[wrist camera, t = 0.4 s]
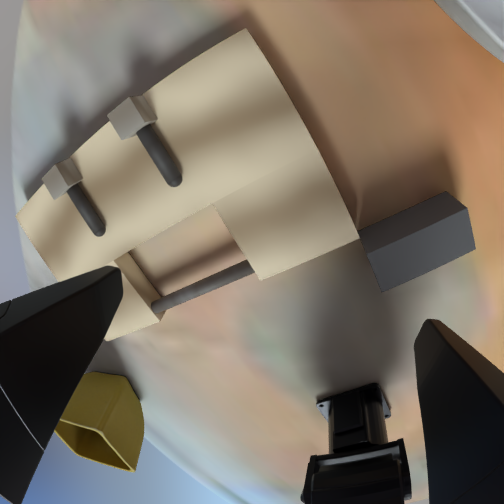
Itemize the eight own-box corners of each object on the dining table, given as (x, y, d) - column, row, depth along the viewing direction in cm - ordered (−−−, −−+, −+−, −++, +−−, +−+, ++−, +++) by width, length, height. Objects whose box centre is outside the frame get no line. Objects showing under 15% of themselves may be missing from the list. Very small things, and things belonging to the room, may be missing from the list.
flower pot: (73, 356, 32) (35, 411, 24) (133, 363, 31) (98, 431, 23) (103, 403, 36) (76, 455, 28) (160, 413, 34) (136, 474, 27)
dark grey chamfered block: (454, 227, 20) (475, 248, 17) (371, 265, 22) (381, 292, 19) (444, 190, 19) (466, 207, 16) (357, 230, 21) (366, 254, 18)
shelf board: (354, 225, 21) (365, 251, 18) (115, 328, 28) (98, 354, 25) (250, 34, 16) (240, 20, 13) (29, 207, 24) (1, 224, 20)
